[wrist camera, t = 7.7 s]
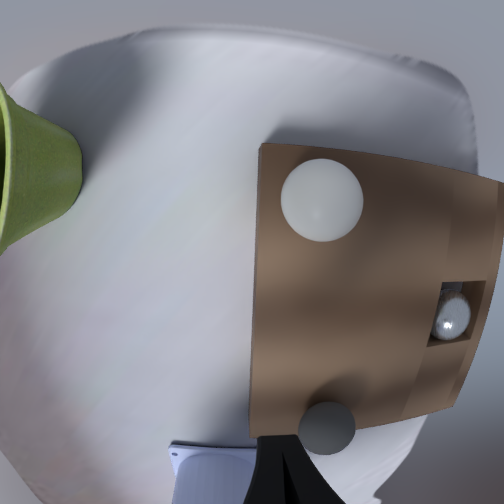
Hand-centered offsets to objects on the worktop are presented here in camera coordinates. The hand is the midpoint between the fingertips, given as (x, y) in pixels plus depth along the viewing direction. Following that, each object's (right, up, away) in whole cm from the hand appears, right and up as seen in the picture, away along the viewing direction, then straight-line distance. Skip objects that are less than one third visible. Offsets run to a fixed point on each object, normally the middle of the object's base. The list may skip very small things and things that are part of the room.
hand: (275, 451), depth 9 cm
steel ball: (+12, +3, +8) cm, 15 cm away
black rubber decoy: (+4, -3, +6) cm, 8 cm away
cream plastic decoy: (+2, +9, +3) cm, 10 cm away
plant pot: (-14, +12, +7) cm, 20 cm away
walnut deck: (+8, +4, +9) cm, 13 cm away
